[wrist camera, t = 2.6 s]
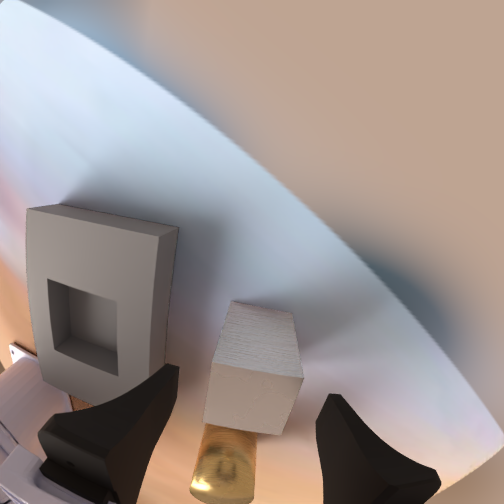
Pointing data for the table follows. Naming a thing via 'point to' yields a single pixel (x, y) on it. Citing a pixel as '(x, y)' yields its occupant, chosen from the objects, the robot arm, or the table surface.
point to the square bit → (254, 371)
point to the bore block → (98, 298)
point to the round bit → (225, 466)
